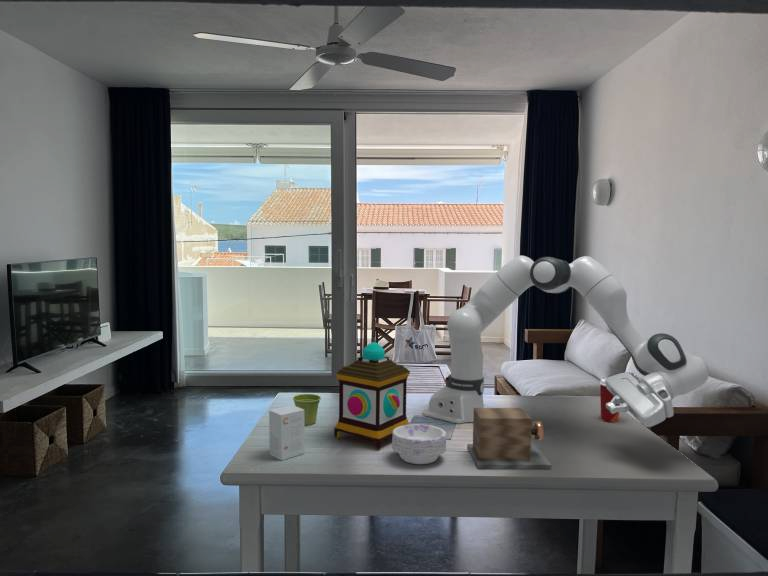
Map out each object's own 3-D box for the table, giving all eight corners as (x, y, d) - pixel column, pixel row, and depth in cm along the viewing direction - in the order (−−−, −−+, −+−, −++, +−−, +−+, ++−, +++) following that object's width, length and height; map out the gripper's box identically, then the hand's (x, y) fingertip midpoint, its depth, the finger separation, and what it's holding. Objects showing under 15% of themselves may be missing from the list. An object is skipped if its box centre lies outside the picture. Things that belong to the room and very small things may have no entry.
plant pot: (317, 417, 194) (317, 392, 193) (323, 425, 185) (323, 400, 184) (290, 419, 191) (290, 394, 190) (295, 428, 182) (295, 402, 181)
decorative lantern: (366, 422, 189) (367, 335, 186) (416, 434, 177) (418, 341, 175) (327, 439, 172) (328, 343, 170) (379, 453, 161) (380, 350, 159)
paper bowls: (427, 445, 168) (428, 419, 167) (456, 463, 154) (457, 435, 154) (382, 453, 161) (382, 426, 160) (408, 473, 147) (408, 443, 147)
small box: (292, 447, 164) (292, 404, 164) (305, 453, 160) (305, 409, 159) (268, 454, 159) (268, 409, 158) (280, 461, 154) (280, 414, 153)
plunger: (537, 435, 162) (538, 418, 161) (544, 442, 155) (545, 425, 155) (478, 435, 161) (479, 418, 161) (483, 442, 155) (483, 425, 155)
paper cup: (623, 424, 191) (625, 383, 190) (599, 422, 192) (601, 382, 191) (618, 417, 198) (620, 378, 197) (596, 415, 200) (597, 377, 199)
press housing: (533, 447, 167) (535, 405, 166) (551, 469, 151) (553, 422, 150) (467, 447, 166) (468, 404, 165) (478, 469, 150) (479, 421, 149)
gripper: (629, 362, 167) (587, 380, 167) (674, 402, 149) (627, 422, 149) (632, 378, 170) (591, 396, 170) (677, 419, 152) (631, 439, 152)
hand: (608, 409), depth 159 cm, fingers closed
